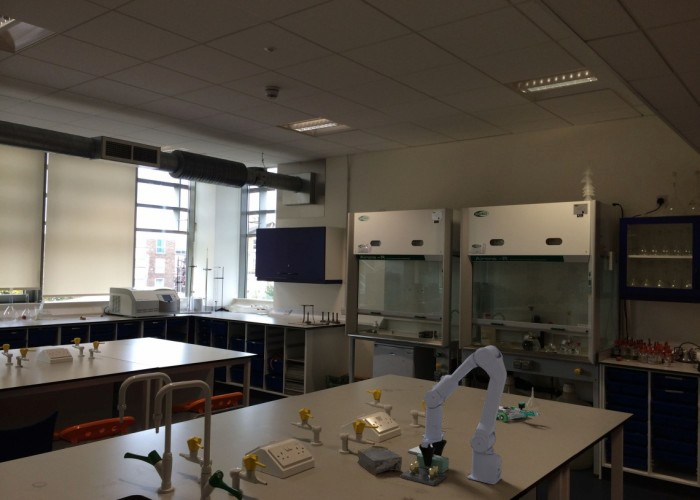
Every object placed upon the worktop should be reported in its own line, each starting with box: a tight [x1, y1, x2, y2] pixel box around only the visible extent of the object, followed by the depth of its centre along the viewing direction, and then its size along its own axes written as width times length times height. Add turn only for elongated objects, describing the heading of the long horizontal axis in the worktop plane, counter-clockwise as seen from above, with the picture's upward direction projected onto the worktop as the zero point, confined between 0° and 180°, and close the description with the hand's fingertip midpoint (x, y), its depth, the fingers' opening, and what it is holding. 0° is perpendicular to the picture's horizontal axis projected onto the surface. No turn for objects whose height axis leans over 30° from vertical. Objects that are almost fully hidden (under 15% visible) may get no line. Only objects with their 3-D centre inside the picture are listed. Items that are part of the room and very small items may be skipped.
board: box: [416, 453, 450, 474], centre depth 201 cm, size 10×5×5 cm, turn 57°
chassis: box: [400, 460, 447, 487], centre depth 191 cm, size 12×10×4 cm
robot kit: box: [496, 401, 541, 423], centre depth 272 cm, size 19×25×9 cm
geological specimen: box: [357, 445, 403, 476], centre depth 200 cm, size 11×6×15 cm
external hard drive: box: [407, 444, 432, 456], centre depth 219 cm, size 2×8×12 cm
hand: (432, 463), depth 201 cm, fingers open, 7 cm apart
